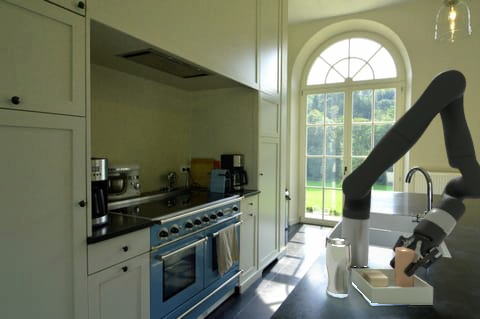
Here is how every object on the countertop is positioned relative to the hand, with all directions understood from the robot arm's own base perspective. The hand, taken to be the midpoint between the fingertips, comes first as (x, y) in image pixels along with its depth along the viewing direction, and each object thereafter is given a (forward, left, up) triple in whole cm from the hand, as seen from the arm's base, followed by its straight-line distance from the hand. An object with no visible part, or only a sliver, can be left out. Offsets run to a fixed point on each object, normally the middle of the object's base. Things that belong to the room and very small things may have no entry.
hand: (399, 270), depth 85 cm
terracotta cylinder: (+2, +1, -4) cm, 5 cm away
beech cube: (-7, -2, -6) cm, 9 cm away
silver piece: (-17, -5, -7) cm, 19 cm away
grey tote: (-2, -1, -7) cm, 8 cm away
